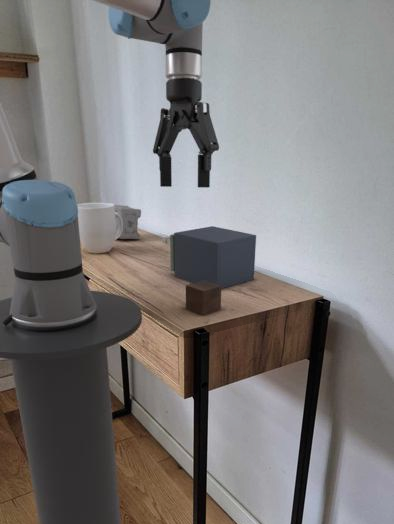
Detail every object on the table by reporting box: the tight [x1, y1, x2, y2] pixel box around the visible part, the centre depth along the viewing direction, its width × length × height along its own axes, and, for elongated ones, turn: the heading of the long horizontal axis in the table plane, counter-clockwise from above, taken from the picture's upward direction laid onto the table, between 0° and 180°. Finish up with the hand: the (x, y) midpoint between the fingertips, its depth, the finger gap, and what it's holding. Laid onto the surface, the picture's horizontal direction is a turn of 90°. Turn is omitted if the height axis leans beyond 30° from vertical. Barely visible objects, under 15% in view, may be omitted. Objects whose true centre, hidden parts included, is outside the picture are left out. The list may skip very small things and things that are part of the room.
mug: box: [77, 202, 123, 255], centre depth 140 cm, size 15×11×13 cm
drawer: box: [161, 233, 175, 272], centre depth 118 cm, size 19×11×9 cm, turn 42°
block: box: [185, 280, 222, 316], centre depth 96 cm, size 5×5×5 cm
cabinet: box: [173, 225, 257, 290], centre depth 115 cm, size 15×13×11 cm
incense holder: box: [114, 204, 142, 240], centre depth 156 cm, size 10×8×10 cm
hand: (183, 187), depth 108 cm, fingers open, 13 cm apart
